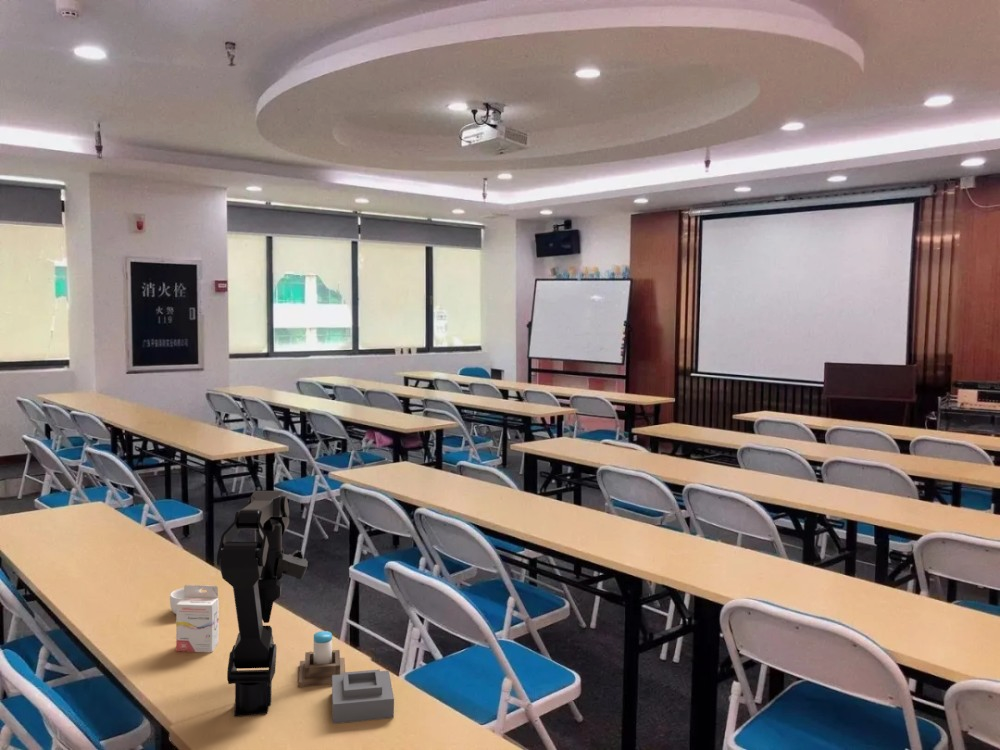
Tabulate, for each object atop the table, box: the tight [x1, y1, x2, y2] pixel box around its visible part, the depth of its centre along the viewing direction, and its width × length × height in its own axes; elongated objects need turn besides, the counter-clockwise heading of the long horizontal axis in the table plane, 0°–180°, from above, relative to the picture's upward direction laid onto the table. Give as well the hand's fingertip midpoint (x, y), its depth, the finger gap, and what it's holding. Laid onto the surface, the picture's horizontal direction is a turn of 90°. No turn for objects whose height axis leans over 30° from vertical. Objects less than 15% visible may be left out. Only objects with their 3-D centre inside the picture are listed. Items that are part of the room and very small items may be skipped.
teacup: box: [169, 587, 202, 615], centre depth 198 cm, size 10×8×5 cm
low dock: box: [298, 649, 346, 687], centre depth 167 cm, size 10×10×4 cm
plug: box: [313, 630, 333, 665], centre depth 167 cm, size 4×4×8 cm
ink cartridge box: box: [175, 584, 220, 653], centre depth 177 cm, size 9×5×15 cm, turn 92°
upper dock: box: [331, 669, 395, 725], centre depth 154 cm, size 12×12×6 cm
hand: (268, 614), depth 167 cm, fingers open, 9 cm apart
